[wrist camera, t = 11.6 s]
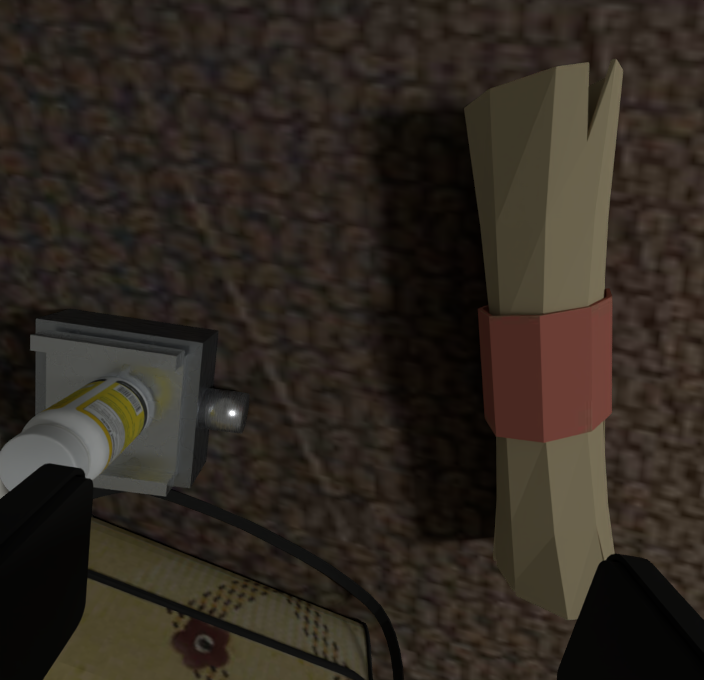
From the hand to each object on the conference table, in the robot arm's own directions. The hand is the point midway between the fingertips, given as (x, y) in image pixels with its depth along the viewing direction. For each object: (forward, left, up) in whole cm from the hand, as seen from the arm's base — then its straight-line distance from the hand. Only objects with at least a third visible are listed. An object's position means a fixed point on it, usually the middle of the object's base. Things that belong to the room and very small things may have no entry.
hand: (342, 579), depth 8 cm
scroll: (0, +15, -28) cm, 31 cm away
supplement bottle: (+8, -14, -23) cm, 28 cm away
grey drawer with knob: (+8, -13, -27) cm, 31 cm away
